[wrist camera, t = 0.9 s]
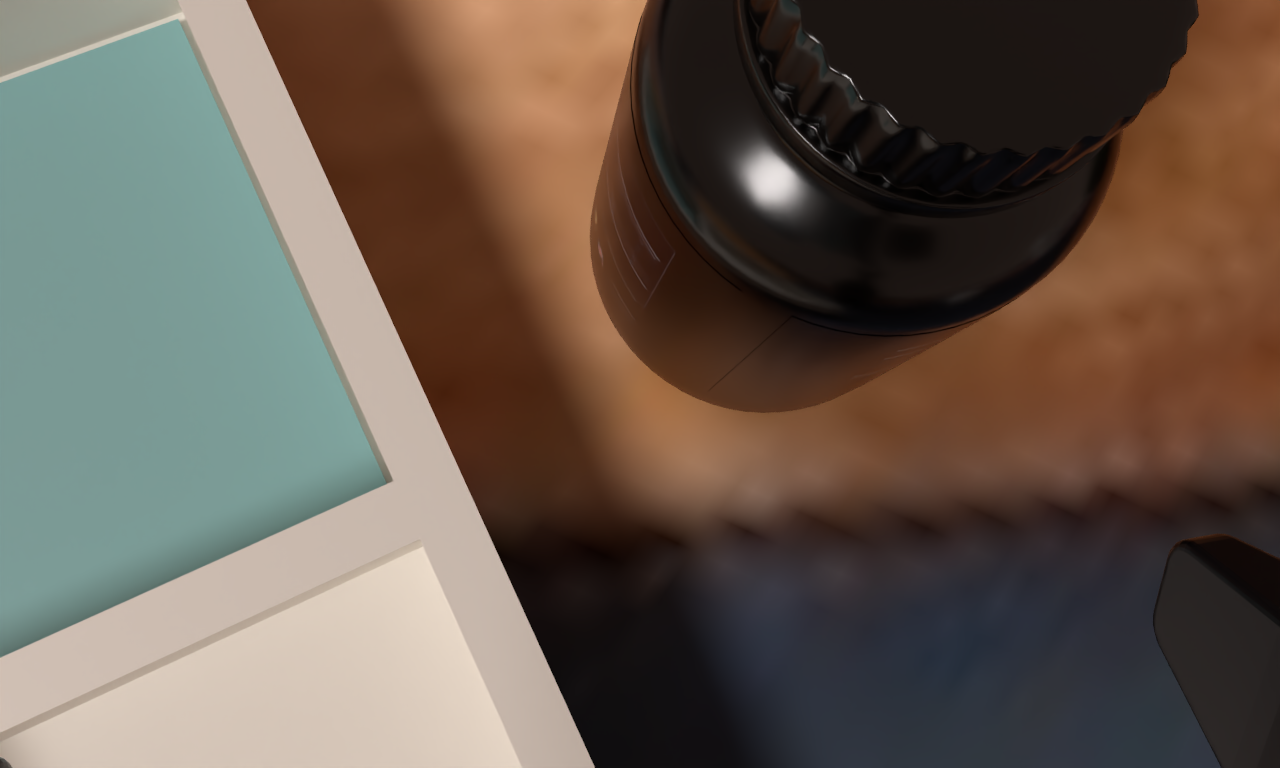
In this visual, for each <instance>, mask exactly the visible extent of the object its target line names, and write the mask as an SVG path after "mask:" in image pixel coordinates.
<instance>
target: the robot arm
mask: <svg viewBox="0 0 1280 768" xmlns="http://www.w3.org/2000/svg"><path fill="white" fill-rule="evenodd" d="M1153 626H1154V632H1155V635H1156V639H1157V641H1158V644H1159V646H1160V648H1161V650H1162V652H1163V654H1164V656H1165V658H1166V660H1167V662H1168V664H1169V666H1170V668H1171V670H1172V672H1173V674H1174V676H1175V678H1176V680H1177V682H1178V683H1179V685H1180V687H1181V689H1182V691H1183V693H1184V695H1185V697H1186V699H1187V701H1188V703H1189V705H1190V707H1191V709H1192V711H1193V713H1194V715H1195V717H1196V719H1197V721H1198V723H1199V725H1200V727H1201V729H1202V731H1203V732H1204V734H1205V736H1206V738H1207V740H1208V742H1209V744H1210V746H1211V748H1212V750H1213V752H1214V754H1215V756H1216V758H1217V760H1218V762H1219V764H1220V766H1221V768H1280V559H1279V558H1277V557H1275V556H1273V555H1271V554H1269V553H1267V552H1265V551H1263V550H1260V549H1258V548H1256V547H1254V546H1252V545H1250V544H1248V543H1246V542H1244V541H1241V540H1239V539H1237V538H1235V537H1232V536H1230V535H1226V534H1213V535H1207V536H1202V537H1196V538H1191V539H1185V540H1181V541H1179V542H1177V543H1176V544H1175V545H1174V546H1173V548H1172V549H1171V550H1170V552H1169V555H1168V558H1167V562H1166V566H1165V570H1164V574H1163V577H1162V581H1161V585H1160V589H1159V593H1158V597H1157V600H1156V604H1155V608H1154V613H1153ZM0 768H12V766H11V765H10V763H9V762H8V761H6V760H5V759H4V758H1V757H0Z"/></svg>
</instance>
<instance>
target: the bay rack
mask: <svg viewBox="0 0 1280 768" xmlns="http://www.w3.org/2000/svg"><path fill="white" fill-rule="evenodd" d="M0 757H1V758H4V759H5V760H6V761H8V762H9V763H10V765H11V766H12V768H595V767H594V764H593V762H592V760H591V758H590V756H589V753H588V751H587V749H586V747H585V745H584V742H583V740H582V738H581V736H580V734H579V731H578V729H577V727H576V725H575V723H574V720H573V718H572V716H571V714H570V712H569V709H568V707H567V705H566V703H565V701H564V698H563V696H562V694H561V692H560V690H559V687H558V685H557V683H556V681H555V679H554V676H553V674H552V672H551V670H550V668H549V665H548V663H547V661H546V659H545V657H544V654H543V652H542V650H541V648H540V646H539V643H538V641H537V639H536V637H535V635H534V632H533V630H532V628H531V626H530V624H529V621H528V619H527V617H526V615H525V613H524V610H523V608H522V606H521V604H520V602H519V600H518V597H517V595H516V593H515V591H514V589H513V586H512V584H511V582H510V580H509V578H508V575H507V573H506V571H505V569H504V567H503V564H502V562H501V560H500V558H499V556H498V553H497V551H496V549H495V547H494V545H493V542H492V540H491V538H490V536H489V534H488V531H487V529H486V527H485V525H484V523H483V520H482V518H481V516H480V514H479V512H478V509H477V507H476V505H475V503H474V501H473V498H472V496H471V494H470V492H469V490H468V487H467V485H466V483H465V481H464V479H463V476H462V474H461V472H460V470H459V468H458V465H457V463H456V461H455V459H454V457H453V454H452V452H451V450H450V448H449V446H448V443H447V441H446V439H445V437H444V435H443V432H442V430H441V428H440V426H439V424H438V421H437V419H436V417H435V415H434V413H433V410H432V408H431V406H430V404H429V402H428V399H427V397H426V395H425V393H424V391H423V388H422V386H421V384H420V382H419V380H418V377H417V375H416V373H415V371H414V369H413V366H412V364H411V362H410V360H409V358H408V355H407V353H406V351H405V349H404V347H403V344H402V342H401V340H400V338H399V336H398V333H397V331H396V329H395V327H394V325H393V322H392V320H391V318H390V316H389V314H388V311H387V309H386V307H385V305H384V303H383V301H382V298H381V296H380V294H379V292H378V290H377V287H376V285H375V283H374V281H373V279H372V276H371V274H370V272H369V270H368V268H367V265H366V263H365V261H364V259H363V257H362V254H361V252H360V250H359V248H358V246H357V243H356V241H355V239H354V237H353V235H352V232H351V230H350V228H349V226H348V224H347V221H346V219H345V217H344V215H343V213H342V210H341V208H340V206H339V204H338V202H337V199H336V197H335V195H334V193H333V191H332V188H331V186H330V184H329V182H328V180H327V177H326V175H325V173H324V171H323V169H322V166H321V164H320V162H319V160H318V158H317V155H316V153H315V151H314V149H313V147H312V144H311V142H310V140H309V138H308V136H307V133H306V131H305V129H304V127H303V125H302V122H301V120H300V118H299V116H298V114H297V111H296V109H295V107H294V105H293V103H292V100H291V98H290V96H289V94H288V92H287V89H286V87H285V85H284V83H283V81H282V78H281V76H280V74H279V72H278V70H277V67H276V65H275V63H274V61H273V59H272V56H271V54H270V52H269V50H268V48H267V45H266V43H265V41H264V39H263V37H262V34H261V32H260V30H259V28H258V26H257V23H256V21H255V19H254V17H253V15H252V12H251V10H250V8H249V6H248V4H247V1H246V0H0Z"/></svg>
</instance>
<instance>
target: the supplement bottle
mask: <svg viewBox="0 0 1280 768" xmlns="http://www.w3.org/2000/svg"><path fill="white" fill-rule="evenodd" d="M1198 16H1199V14H1198V4H1197V0H647V3H646V5H645V8H644V11H643V13H642V16H641V19H640V22H639V26H638V29H637V33H636V37H635V41H634V44H633V48H632V52H631V56H630V60H629V63H628V67H627V71H626V75H625V79H624V83H623V87H622V90H621V94H620V98H619V102H618V106H617V110H616V114H615V118H614V121H613V125H612V129H611V133H610V137H609V141H608V145H607V149H606V152H605V156H604V160H603V164H602V168H601V172H600V176H599V180H598V183H597V187H596V193H595V198H594V203H593V209H592V215H591V227H590V247H591V259H592V266H593V272H594V276H595V280H596V284H597V288H598V291H599V294H600V297H601V299H602V302H603V305H604V307H605V309H606V311H607V313H608V315H609V317H610V319H611V321H612V323H613V324H614V326H615V328H616V329H617V331H618V333H619V334H620V336H621V337H622V338H623V340H624V341H625V342H626V344H627V345H628V346H629V348H630V349H631V350H632V351H633V352H634V353H635V354H636V355H637V357H638V358H639V359H640V360H641V361H642V362H643V363H644V364H646V365H647V366H648V367H649V368H650V369H651V370H652V371H653V372H654V373H656V374H657V375H658V376H660V377H661V378H662V379H664V380H665V381H666V382H668V383H670V384H671V385H673V386H674V387H676V388H678V389H679V390H681V391H683V392H685V393H687V394H689V395H691V396H693V397H695V398H697V399H700V400H702V401H705V402H708V403H710V404H713V405H717V406H721V407H724V408H728V409H733V410H739V411H745V412H760V413H770V412H785V411H792V410H798V409H803V408H807V407H811V406H815V405H818V404H821V403H824V402H827V401H830V400H832V399H834V398H837V397H839V396H841V395H843V394H845V393H847V392H849V391H851V390H853V389H856V388H858V387H860V386H862V385H864V384H865V383H867V382H869V381H871V380H873V379H874V378H876V377H878V376H880V375H882V374H883V373H885V372H887V371H889V370H891V369H893V368H894V367H896V366H898V365H900V364H902V363H903V362H905V361H907V360H909V359H911V358H912V357H914V356H916V355H918V354H920V353H922V352H923V351H925V350H927V349H929V348H931V347H932V346H934V345H936V344H938V343H940V342H941V341H943V340H945V339H947V338H949V337H951V336H952V335H954V334H956V333H958V332H960V331H961V330H963V329H965V328H967V327H969V326H970V325H972V324H974V323H976V322H978V321H979V320H981V319H983V318H985V317H987V316H988V315H990V314H992V313H994V312H995V311H997V310H999V309H1000V308H1002V307H1004V306H1005V305H1007V304H1009V303H1010V302H1012V301H1014V300H1015V299H1017V298H1018V297H1019V296H1021V295H1022V294H1024V293H1025V292H1026V291H1028V290H1029V289H1030V288H1032V287H1033V286H1034V285H1035V284H1037V283H1038V282H1039V281H1041V280H1042V279H1043V278H1045V277H1046V276H1047V275H1048V274H1049V273H1050V272H1051V271H1052V270H1053V269H1054V268H1056V267H1057V266H1058V265H1059V264H1060V263H1061V262H1062V261H1063V260H1064V259H1065V257H1066V256H1067V255H1068V254H1069V253H1070V252H1071V250H1072V249H1073V248H1074V247H1075V246H1076V245H1077V243H1078V242H1079V240H1080V239H1081V238H1082V236H1083V235H1084V233H1085V232H1086V230H1087V229H1088V227H1089V226H1090V224H1091V223H1092V221H1093V219H1094V217H1095V216H1096V214H1097V212H1098V210H1099V208H1100V206H1101V204H1102V203H1103V200H1104V198H1105V195H1106V193H1107V191H1108V188H1109V186H1110V183H1111V181H1112V177H1113V174H1114V170H1115V167H1116V164H1117V160H1118V157H1119V152H1120V146H1121V141H1122V135H1123V129H1124V128H1126V127H1127V126H1128V125H1130V124H1131V123H1132V122H1133V121H1134V120H1135V119H1136V117H1137V116H1138V114H1139V113H1140V111H1141V109H1142V107H1144V106H1145V105H1146V104H1148V103H1149V102H1150V101H1152V100H1153V99H1154V98H1155V97H1157V96H1158V95H1159V94H1160V93H1161V92H1162V91H1163V89H1164V88H1165V87H1166V84H1167V81H1168V78H1169V75H1170V70H1171V68H1172V67H1174V66H1175V65H1176V64H1177V63H1178V62H1179V61H1180V60H1181V59H1182V58H1183V57H1184V55H1185V54H1186V50H1187V34H1188V30H1189V29H1190V28H1191V27H1192V25H1193V24H1194V22H1195V21H1196V19H1197V18H1198Z"/></svg>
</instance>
